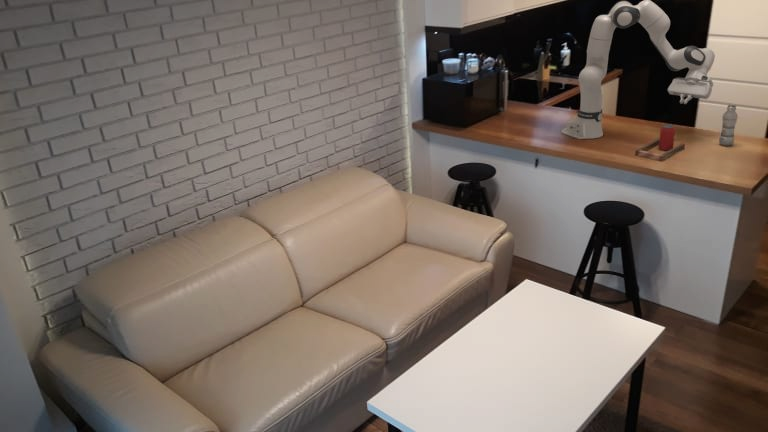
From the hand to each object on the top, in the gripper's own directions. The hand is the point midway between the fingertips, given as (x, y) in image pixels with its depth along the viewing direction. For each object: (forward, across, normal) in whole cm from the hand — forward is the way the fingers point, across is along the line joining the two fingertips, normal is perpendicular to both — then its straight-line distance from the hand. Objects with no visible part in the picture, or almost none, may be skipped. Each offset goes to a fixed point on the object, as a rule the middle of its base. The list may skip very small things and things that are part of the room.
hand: (682, 103), depth 306 cm
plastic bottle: (+9, +20, +21) cm, 30 cm away
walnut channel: (+28, 0, +2) cm, 28 cm away
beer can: (+23, 0, +6) cm, 24 cm away
